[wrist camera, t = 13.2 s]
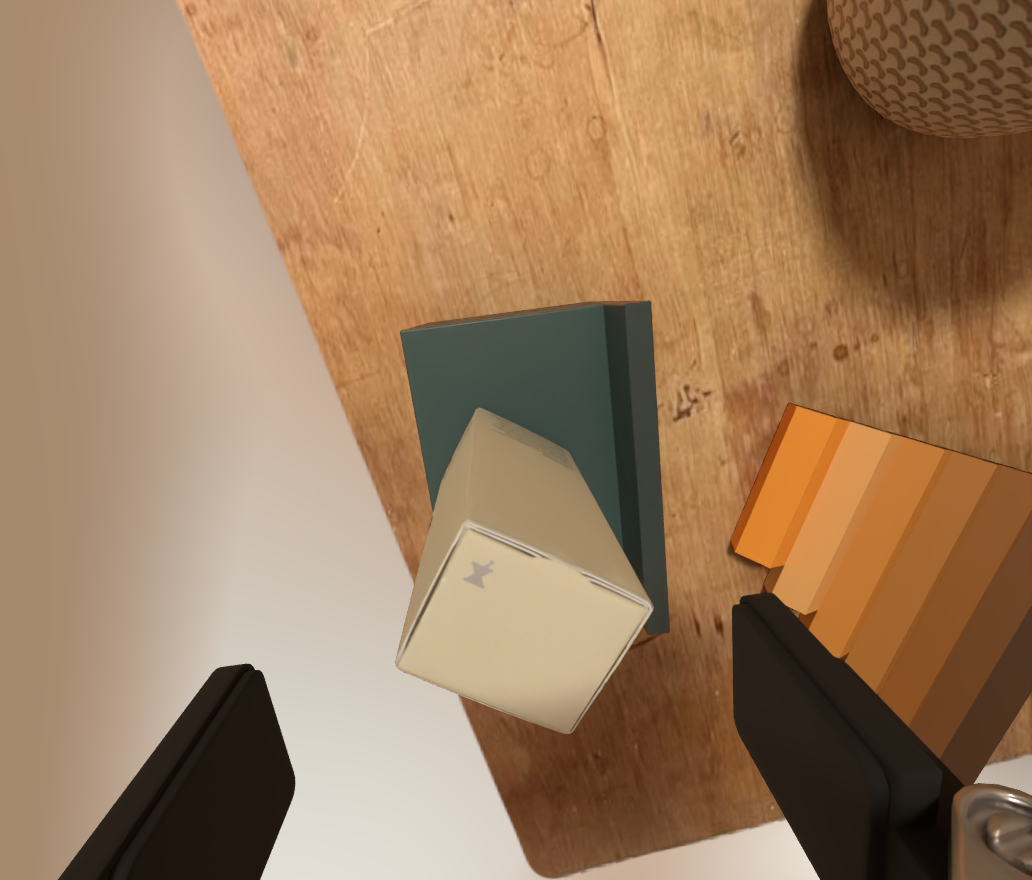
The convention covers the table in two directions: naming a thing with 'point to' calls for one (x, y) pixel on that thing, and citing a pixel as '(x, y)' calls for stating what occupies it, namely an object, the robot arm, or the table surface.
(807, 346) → the table surface
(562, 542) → the box
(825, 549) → the pan flute
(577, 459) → the green stepped block
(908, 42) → the planter
